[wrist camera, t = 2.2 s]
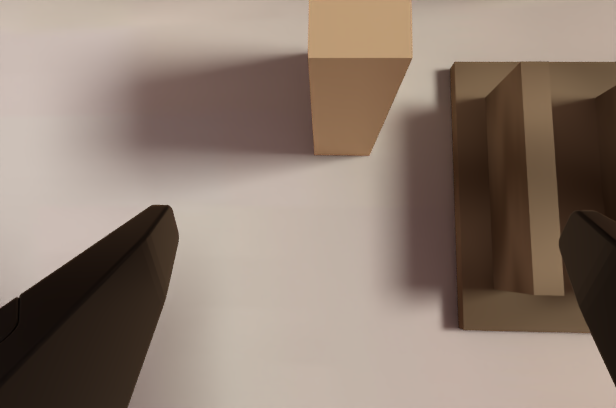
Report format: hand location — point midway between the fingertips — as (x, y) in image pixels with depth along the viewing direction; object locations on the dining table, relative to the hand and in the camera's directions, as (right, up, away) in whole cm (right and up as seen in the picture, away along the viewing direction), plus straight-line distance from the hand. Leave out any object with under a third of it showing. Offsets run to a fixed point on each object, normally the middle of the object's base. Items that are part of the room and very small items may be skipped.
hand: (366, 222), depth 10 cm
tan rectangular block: (+1, +6, +14) cm, 15 cm away
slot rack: (+11, +1, +13) cm, 17 cm away
